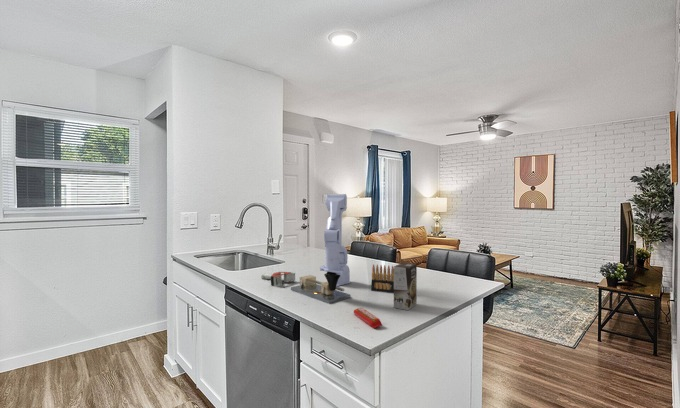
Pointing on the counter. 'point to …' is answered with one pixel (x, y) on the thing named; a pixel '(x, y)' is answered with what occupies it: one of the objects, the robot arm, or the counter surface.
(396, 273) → the coffee box
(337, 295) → the bolt plate
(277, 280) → the tape dispenser
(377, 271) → the ammunition clip
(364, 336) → the counter surface
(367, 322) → the candy bar
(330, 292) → the trammel slider
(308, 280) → the trammel beam
